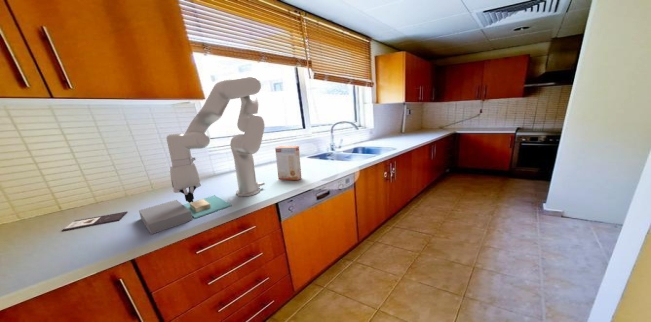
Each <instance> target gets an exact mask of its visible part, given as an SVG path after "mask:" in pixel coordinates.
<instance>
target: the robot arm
mask: <svg viewBox="0 0 651 322" xmlns="http://www.w3.org/2000/svg"><path fill="white" fill-rule="evenodd" d="M261 87H262V84H261V81H260V80H259V79H258V77H256V76H254V75H247V76H243V77H242V76H241V77H238V78H229V79H225V80H221V81H219V82H217V83H215V84H214V86H213V87H212V89H211V91H210V93H209V95H208V97H207V98H206V100H205V102H204V104H203V106H202V107H201V109H200V110H199V111H198V112H197V114H196V115H195V116H194V117H193V119H192V120H191V122H190V124H189V125H188V127H187V129H186V131H185V133H171V134H167V136H166V143H167V147H168V148H167V149H168V152H169V156H170V162H171V166H170V171H169V173H170V174H169V176H170V183H171V187H172V188H173V189H172V191H173V193H178V194H180V193H181V194H183V195H184V200H185V202H188V203H191V202H194V200H195V197H194V194H195V193H194V192H195V190H196V189H197V188H199V187H201V186H202V185H201V179H200V175H199V172H198V170H197V167H196V164H195V163H194V162H195V161H197V160H196V159H197V158H196V157H192V155H191V150H194V149H195V150H197V149H198V150H199V149H201V150H202V149H204V148H206V147H207V146H209V144H210V142H211V140H210V136H209V135H208V134H207V133H206V131H207V130H208V128H209V127H211V126H212V125H213V124H214V123H215V122H217V121H218V120H220V119H221V118H222V116H223V115H224V113H225V110H226V108H227V107H228V104H229V102H230V101H231V100H234V99H239V100H240V102H241V103H240V104H241V105H240V111H239V114H238V118H237V122H236V123H237V124H236V125H237V129H239V131H240V132H242V133H244V134H241V133H240V134H236V135H234V136H233V137H232V138H231V139H230V144H229V145H230V151H231V153H232V155H233V156H232V157H233V160H234V167H235V174H236V182H237V187H238V189H237V190H236V191H235V194H236V196H237V197H250V196H254V195H257V194H258V193H260V191H261V187H262V186H265V181H261V182H260V181H258V182H257V178H256V169H255V162H254V161H255V160H254V156H253V155H254V154H257V152H258V151H259V150H260V147H261V145H262V141H263V136H264V132H265V121H264V118H263V117H262V116H261V115H259V114H258V111H259V102H258V98H257V96H256V95H257V94H258V93H259V92H260V91H261V89H262V88H261ZM187 188H188V190H187Z"/></svg>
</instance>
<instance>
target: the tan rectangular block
mask: <svg viewBox="0 0 651 322" xmlns="http://www.w3.org/2000/svg"><path fill="white" fill-rule="evenodd" d="M201 199H202V200H201ZM201 199H198V200H199V201H197V200H194V201H195V202H194V201H193V202H192V203H190V207H191V208H192V209H193V210H194V211H195V212H200V211H203V210H206V209H209V208H211V206H210V203H208V202H207V201H205V200H204V198H201Z"/></svg>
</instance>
